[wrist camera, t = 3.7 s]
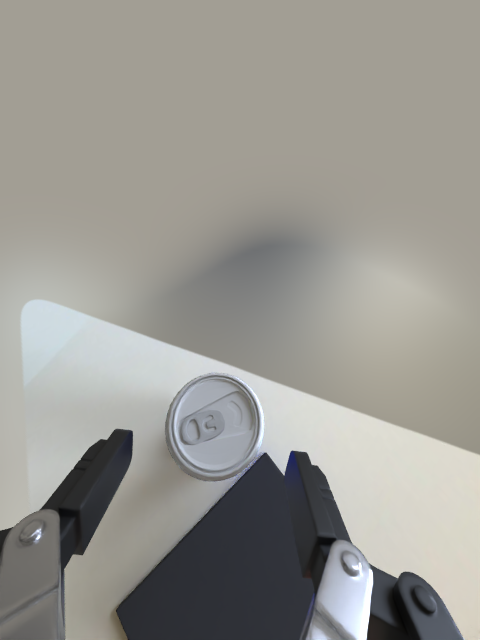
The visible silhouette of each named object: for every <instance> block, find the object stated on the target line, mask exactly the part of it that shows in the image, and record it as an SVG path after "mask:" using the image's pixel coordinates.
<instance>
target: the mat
mask: <svg viewBox="0 0 480 640" xmlns="http://www.w3.org/2000/svg"><path fill="white" fill-rule="evenodd" d="M313 593H314V587H313V582H312V579H310V578H303V577H302V572H301V567H300V562H299V557H298V552H297V547H296V542H295V537H294V532H293V527H292V522H291V517H290V512H289V507H288V501H287V496H286V491H285V485H284V475H283V474H282V473H281V471H280V470H279V469H278V467H277V466H276V465H275V463H274V462H273V461H272V460H271V458H270V457H269V456H268V454H267V453H264V454H263V455H262V456H261V457H260V458H259V459H258V460H257V461H256V462H255V463H254V465H253V466H252V467H251V468H250V469H249V470H248V471H247V472H246V473H245V474H244V475H243V476H242V477H241V478H240V479H239V480H238V481H237V482H236V483H235V484H234V486H233V487H232V488H231V489H230V490H229V491H228V492H227V493H226V494H225V495H224V496H223V497H222V498H221V499H220V500H219V501H218V502H217V503H216V504H215V505H214V507H213V508H212V509H211V510H210V511H209V512H208V513H207V514H206V515H205V516H204V517H203V518H202V519H201V520H200V521H199V522H198V523H197V524H196V525H195V526H194V528H193V529H192V530H191V531H190V532H189V533H188V534H187V535H186V536H185V537H184V538H183V539H182V540H181V541H180V542H179V543H178V544H177V545H176V546H175V547H174V549H173V550H172V551H171V552H170V553H169V554H168V555H167V556H166V557H165V558H164V559H163V560H162V561H161V562H160V563H159V564H158V565H157V566H156V567H155V568H154V570H153V571H152V572H151V573H150V574H149V575H148V576H147V577H146V578H145V579H144V580H143V581H142V582H141V583H140V584H139V585H138V586H137V587H136V588H135V589H134V591H133V592H132V593H131V594H130V595H129V596H128V597H127V598H126V599H125V600H124V601H123V602H122V603H121V604H120V605H119V607H118V608H117V610H116V612H117V614H118V617H119V619H120V621H121V624H122V626H123V629H124V631H125V633H126V636H127V638H128V640H299V639H300V635H301V632H302V629H303V625H304V622H305V619H306V615H307V612H308V609H309V605H310V602H311V599H312V595H313Z"/></svg>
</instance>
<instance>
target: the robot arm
mask: <svg viewBox="0 0 480 640" xmlns="http://www.w3.org/2000/svg"><path fill="white" fill-rule="evenodd" d="M132 446H133V431H131V430H123V429H115V430H114V431H113V433H112V434H111V435H110V437H109V438H108V440H103V439H101V440H99V441H98V442H96V443H95V444H94V445H92V446H91V447H90V448H89V449H88V450H87V451H86V453H85V454H84V455H83V456H82V458H81V460H79V461H78V463H77V464H76V465H75V467H74V469H73V470H71V472H70V473H69V474H68V475H67V477H66V478H65V479H64V481H63V482H62V483H61V484H60V486H59V487H58V488H57V489H56V491H55V492H54V493H53V494H52V496H51V497H50V498H49V500H48V501H47V502H46V503H45V505H44V506H43V507H42V508H41V509H40V510H39V511H37V512H34V513H32V514H30V515H28V516H27V517H25V518H24V519H22V520H21V521H20V522H19V523H18V524H16V525H15V526H14V527H12V528H9V529H5V530H2V531H0V640H65V574H64V569H65V567H66V565H67V564H68V562H69V560H70V558H71V557H72V555H73V554H76V555H83V554H84V552H85V550H86V548H87V546H88V544H89V542H90V540H91V538H92V537H93V535H94V533H95V531H96V529H97V527H98V525H99V523H100V521H101V519H102V518H103V516H104V514H105V512H106V510H107V508H108V506H109V504H110V502H111V500H112V498H113V497H114V495H115V493H116V491H117V489H118V487H119V485H120V483H121V481H122V479H123V478H124V476H125V474H126V472H127V470H128V468H129V465H130V462H131V459H132ZM284 485H285V491H286V496H287V501H288V507H289V512H290V517H291V522H292V527H293V532H294V537H295V542H296V547H297V552H298V557H299V562H300V567H301V572H302V577H303V578H310V579H312V582H313V587H314V593H313V595H312V599H311V602H310V605H309V609H308V612H307V615H306V619H305V622H304V625H303V629H302V632H301V635H300V639H299V640H464V638H463V637H462V635H461V633H460V631H459V629H458V628H457V626H456V624H455V622H454V620H453V619H452V617H451V615H450V613H449V611H448V610H447V608H446V606H445V604H444V603H443V601H442V599H441V598H440V596H439V595H438V594H437V593H436V591H435V590H434V589H433V588H432V587H431V586H430V585H429V584H428V583H427V582H426V581H425V580H424V579H422V578H421V577H419V576H418V575H416V574H414V573H411V572H403V573H401V575H400V576H399V578H396V577H394V576H392V575H389V574H387V573H385V572H383V571H381V570H379V569H377V568H376V567H374V566H372V565H371V564H369V563H368V561H367V560H366V558H365V556H364V555H363V554H362V553H361V551H360V550H359V549H358V548H357V547H355V546H354V545H353V544H352V542H351V540H350V537H349V535H348V532H347V530H346V527H345V525H344V522H343V520H342V517H341V515H340V512H339V510H338V507H337V504H336V502H335V500H334V497H333V494H332V492H331V490H330V487H329V484H328V482H327V479H326V476H325V475H324V474H323V472H322V471H321V470H320V469H319V467H318V466H315V465H311V462H310V459H309V456H308V454H307V453H306V452H298V451H291V453H290V456H289V460H288V463H287V467H286V471H285V476H284Z"/></svg>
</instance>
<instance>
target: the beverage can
mask: <svg viewBox="0 0 480 640" xmlns="http://www.w3.org/2000/svg"><path fill="white" fill-rule="evenodd" d="M263 432H264V417H263V411H262V408H261V404H260V402H259V400H258V398H257V396H256V395H255V393H254V392H253V390H252V389H251V388H250V387H249V386H248V385H247V384H246V383H244V382H243V381H242V380H240V379H238V378H237V377H234V376H232V375H228V374H224V373H210V374H206V375H202V376H200V377H197V378H195V379H193V380H192V381H190V382H189V383H187V384H186V385H185V386H184V387H183V388H182V389H181V390H180V391H179V392H178V393H177V395H176V396H175V398H174V399H173V401H172V403H171V405H170V408H169V410H168V413H167V418H166V424H165V435H166V442H167V446H168V449H169V451H170V454H171V456H172V458H173V459H174V461H175V462H176V464H177V465H178V466H179V467H180V468H181V469H182V470H183V471H184V472H186V473H187V474H189V475H190V476H192V477H194V478H197V479H200V480H204V481H221V480H225V479H228V478H231V477H233V476H235V475H237V474H238V473H240V472H241V471H242V470H244V469H245V468H246V467H247V466H248V465H249V464H250V463H251V461H252V460H253V459H254V457H255V456H256V454H257V452H258V450H259V448H260V445H261V442H262V438H263Z"/></svg>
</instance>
